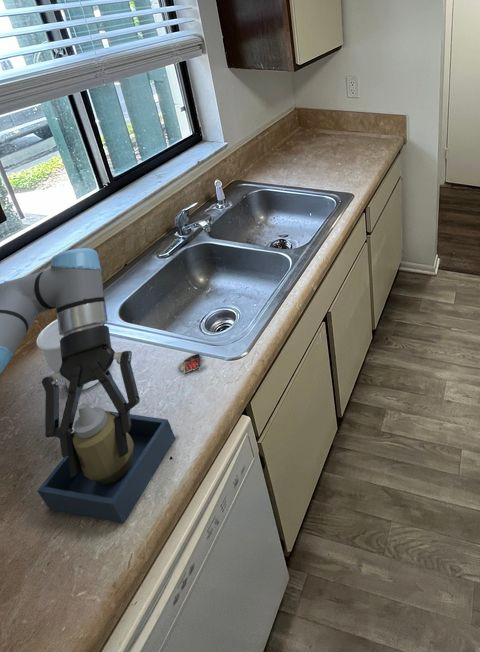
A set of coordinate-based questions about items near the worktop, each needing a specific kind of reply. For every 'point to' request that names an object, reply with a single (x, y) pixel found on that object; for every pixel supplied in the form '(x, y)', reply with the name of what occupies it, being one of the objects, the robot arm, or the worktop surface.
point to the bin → (117, 496)
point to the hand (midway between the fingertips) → (100, 464)
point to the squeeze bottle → (100, 445)
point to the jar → (55, 350)
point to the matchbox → (191, 363)
